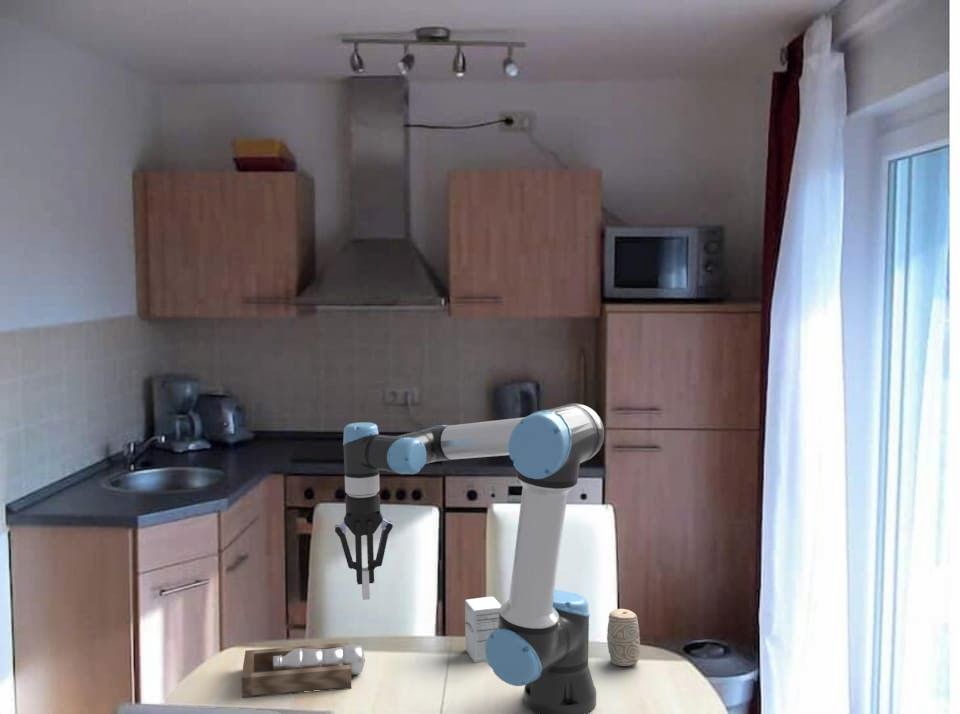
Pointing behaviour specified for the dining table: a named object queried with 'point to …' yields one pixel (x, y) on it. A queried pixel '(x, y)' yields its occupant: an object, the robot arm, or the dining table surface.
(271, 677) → the wooden tray
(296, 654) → the plastic bottle
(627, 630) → the carving
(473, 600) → the supplement box
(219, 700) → the dining table surface
